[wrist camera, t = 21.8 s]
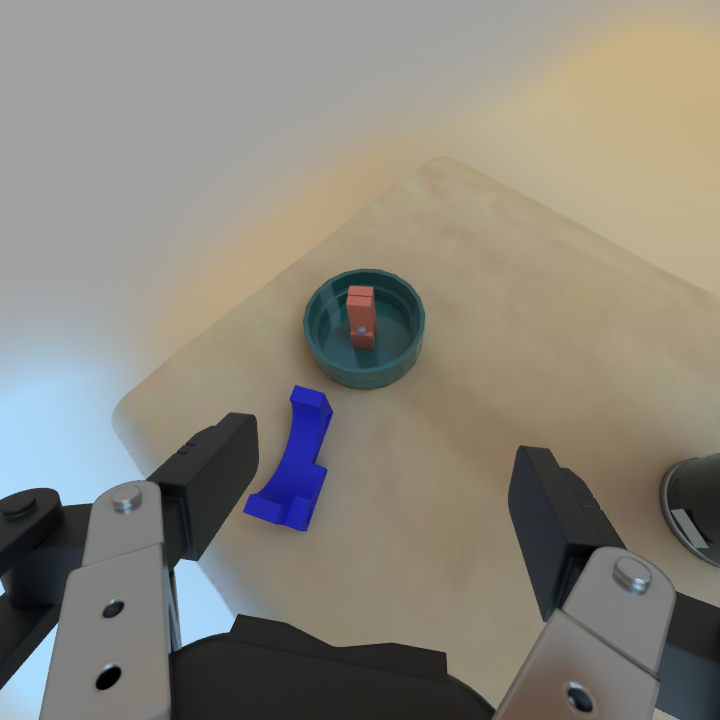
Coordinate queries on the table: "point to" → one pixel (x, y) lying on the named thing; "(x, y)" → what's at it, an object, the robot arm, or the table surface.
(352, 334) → the clothespin
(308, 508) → the cable clip
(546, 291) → the table surface
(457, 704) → the robot arm
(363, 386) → the bowl
